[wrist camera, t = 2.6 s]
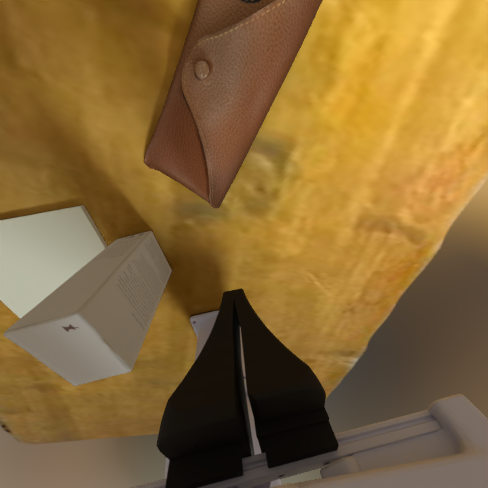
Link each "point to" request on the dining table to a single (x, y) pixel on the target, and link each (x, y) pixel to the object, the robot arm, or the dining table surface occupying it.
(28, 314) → the skincare box
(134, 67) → the dining table surface
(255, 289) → the dining table surface
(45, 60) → the dining table surface
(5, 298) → the mat
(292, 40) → the sunglasses case
